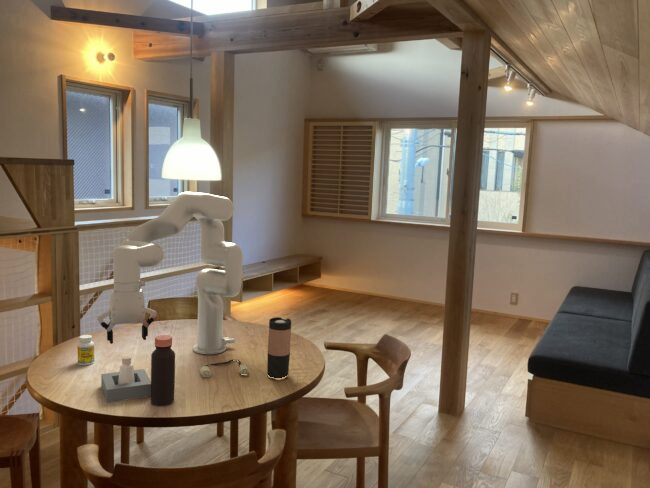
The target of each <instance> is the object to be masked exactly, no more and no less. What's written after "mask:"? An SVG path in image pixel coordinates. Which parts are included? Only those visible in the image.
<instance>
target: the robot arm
mask: <svg viewBox="0 0 650 488" xmlns="http://www.w3.org/2000/svg"><path fill="white" fill-rule="evenodd" d="M234 209H235V207H234V204H233V201H232V200H231V199H230V198H228V197H226V196H220V195H217V194H216V195H215V194H211V193H205V192H195V191H194V192H193V191H184V192H180V193H179V194H177V195H176V196H175V198H174V199H172V201H171V202H170V204H169V205H167V207H166V208H165V209H164V210H163V211H162V212H161V213H160V215H158V216H157V217H155V218H152V219H150V220H148V221H146V222H144V223H142V224H140V225H137V227H135V228H134V229H132V230H131V231H130V232H129V233H128V234H127V235H126V236H125V237H124V239H123V240H122V241H121V243H120V245H117V246H116V247H115V248H114V249H113V290H111V291H110V295H109V306H108V308H109V309H108V310H107V311H105V312H103V313H100V314H99V315H98V316H96V320H97V321H98V323H99V324H100V326H101V327H102V328H104V330H106V340H107V342H108V341H109V343H110V345H112V344H114V331H113V328H114V327H115V326H117V325H127V324H137V323H141V324H142V325H141V339H142V340H144V341H146V340H147V337H148V336H149V328H150V325H151V324H152V323H153V322H154V321H155V318H156V316H157V314H158V313H157V311H156V310H154V309H151V308H149V307H146V303H145V295H144V292H143V288H142V287H145V286H146V281H143V280H141V269H142V268H143V269H144V268H153V267H157V266H158V265H160V264H161V263H162V262H163V260H164V257H165V251H164V249H163V248H162V247H161V246H160V245H159V244H157V243H154V242H155V241H158V240H163V239H168V238H172V237H175V236H177V235H178V234H180V233H181V232H182V231H183V229H184V228H185V227H186V226H187V224H189V222H190V220H192V219H193V218H195V220H197V221H198V224H199V226H200V232H201V233H200V237H201V238H200V260H201V262H202V263H203V264H205V265H207V266H213V267H218V268H224V270H223V269H216V268H204V269H201V270H200V271H198V272H197V275H196V278H195V287H196V291H197V292H196V293H197V327H196V328H197V330H196V331H197V332H196V334H197V335H196V342H197V343H195V344H193V345H192V351H194V352H195V353H197V354H200V355H217V354H222V353H223V352H225V351H226V350H227V346H226V345H227V344H229V345H230V344H235V338H233V337H232V338H230V337H224V336H223V328H224V326H223V325H224V301H223V299H222V297H226V298H227V297H228V298H233V297H236V296H238V295H239V294H240V292H241V289H242V284H243V265H244V264H243V263H244V261H243V259H244V258H243V254H244V253H243V251H242V249H241V247H240V245H239V244H237V243H234V242H229V241H226V240H225V226H224V224H223V222H226V221H229V219H231V218H232V216H233V214H234V211H235V210H234ZM146 313H147V314H149V315H150V316H149V317H148V318H147V319H146ZM107 317H108V318H109V322H108V323H106V321H104V319H106V318H107Z"/></svg>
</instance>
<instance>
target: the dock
mask: <svg viewBox="0 0 650 488" xmlns="http://www.w3.org/2000/svg"><path fill="white" fill-rule="evenodd" d="M133 370H134V379H135V383H127V384H119V385H118V380H119V371H115V372H107V373H106V372H105V373H101V374H100V377H101V378H100V382H101V384H100V385H101V389H102V392H103V396H104V398H105V401H106V404H107V403H113V402H121V401H128V400H134V399H135V400H136V399H142V398H149V397H150V398H151V378H150V377H149V375H148V373H147V372H146V370H145V368H141V369H140V368H139V369H133Z"/></svg>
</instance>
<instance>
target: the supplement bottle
mask: <svg viewBox="0 0 650 488" xmlns="http://www.w3.org/2000/svg"><path fill="white" fill-rule="evenodd" d="M78 340H79V342H78V343H77V364H78V365H80V366H90V365H92V364H94V363H95V342H94V341H93V336H92V335H91V334H82V335H79V339H78Z"/></svg>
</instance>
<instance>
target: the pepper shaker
mask: <svg viewBox="0 0 650 488" xmlns="http://www.w3.org/2000/svg"><path fill="white" fill-rule="evenodd" d="M134 370H135V369H134V364H133V363H132V356H129V355H124V356H122V357H121V364H120V365H119V371H118V372H119V380H118V385H119V384H127V383H135V379H134Z"/></svg>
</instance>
